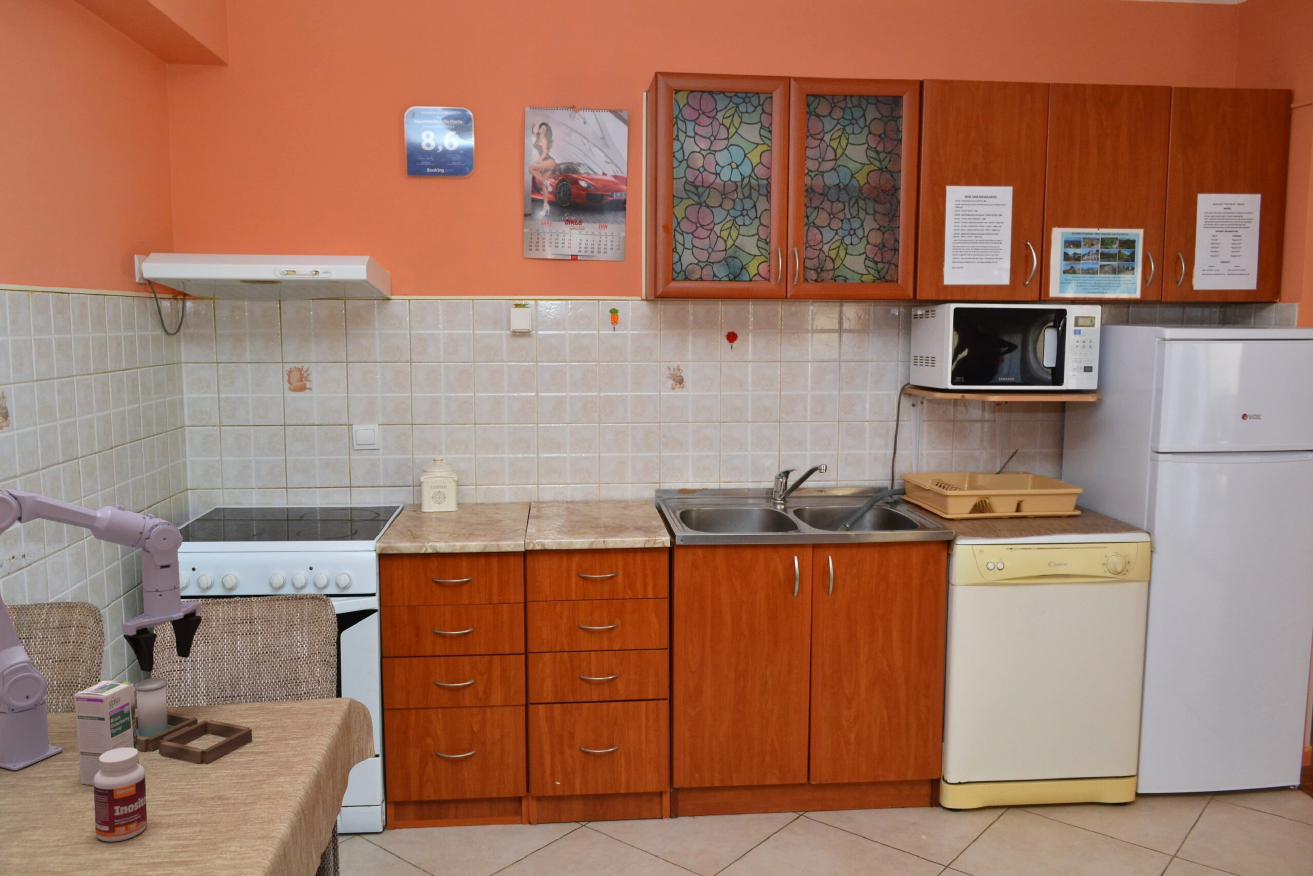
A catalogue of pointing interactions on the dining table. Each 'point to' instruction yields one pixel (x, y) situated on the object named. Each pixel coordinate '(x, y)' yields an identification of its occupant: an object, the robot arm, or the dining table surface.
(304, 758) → the dining table surface
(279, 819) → the dining table surface
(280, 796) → the dining table surface
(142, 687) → the tube
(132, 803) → the pill bottle
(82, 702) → the syrup box
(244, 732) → the brown flat frame
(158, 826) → the dining table surface
